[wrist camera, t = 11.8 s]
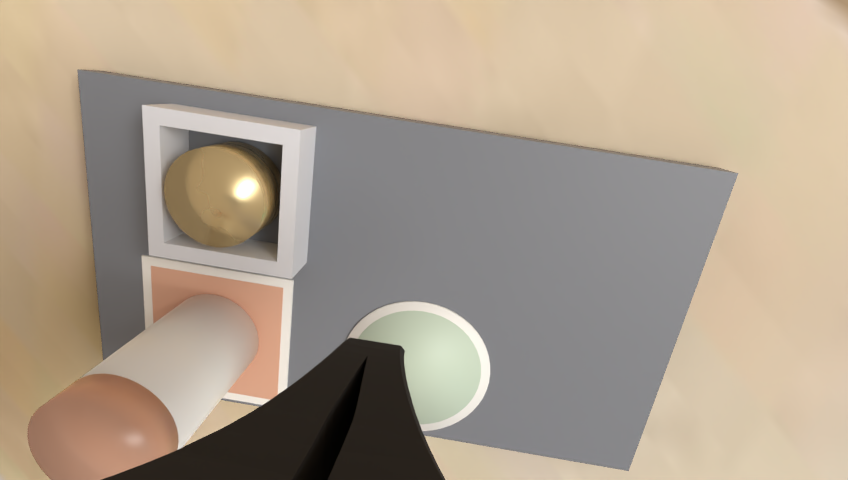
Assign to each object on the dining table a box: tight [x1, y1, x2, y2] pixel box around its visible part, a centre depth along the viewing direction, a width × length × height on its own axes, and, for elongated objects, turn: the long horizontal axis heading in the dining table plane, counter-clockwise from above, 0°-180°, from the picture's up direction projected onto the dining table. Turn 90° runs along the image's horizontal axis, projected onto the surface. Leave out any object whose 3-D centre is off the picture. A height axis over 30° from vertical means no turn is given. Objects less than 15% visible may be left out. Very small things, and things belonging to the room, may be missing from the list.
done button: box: [164, 142, 281, 247], centre depth 17 cm, size 4×4×2 cm
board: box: [78, 70, 738, 471], centre depth 19 cm, size 14×25×3 cm, turn 82°
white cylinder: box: [28, 294, 259, 480], centre depth 17 cm, size 4×4×7 cm
